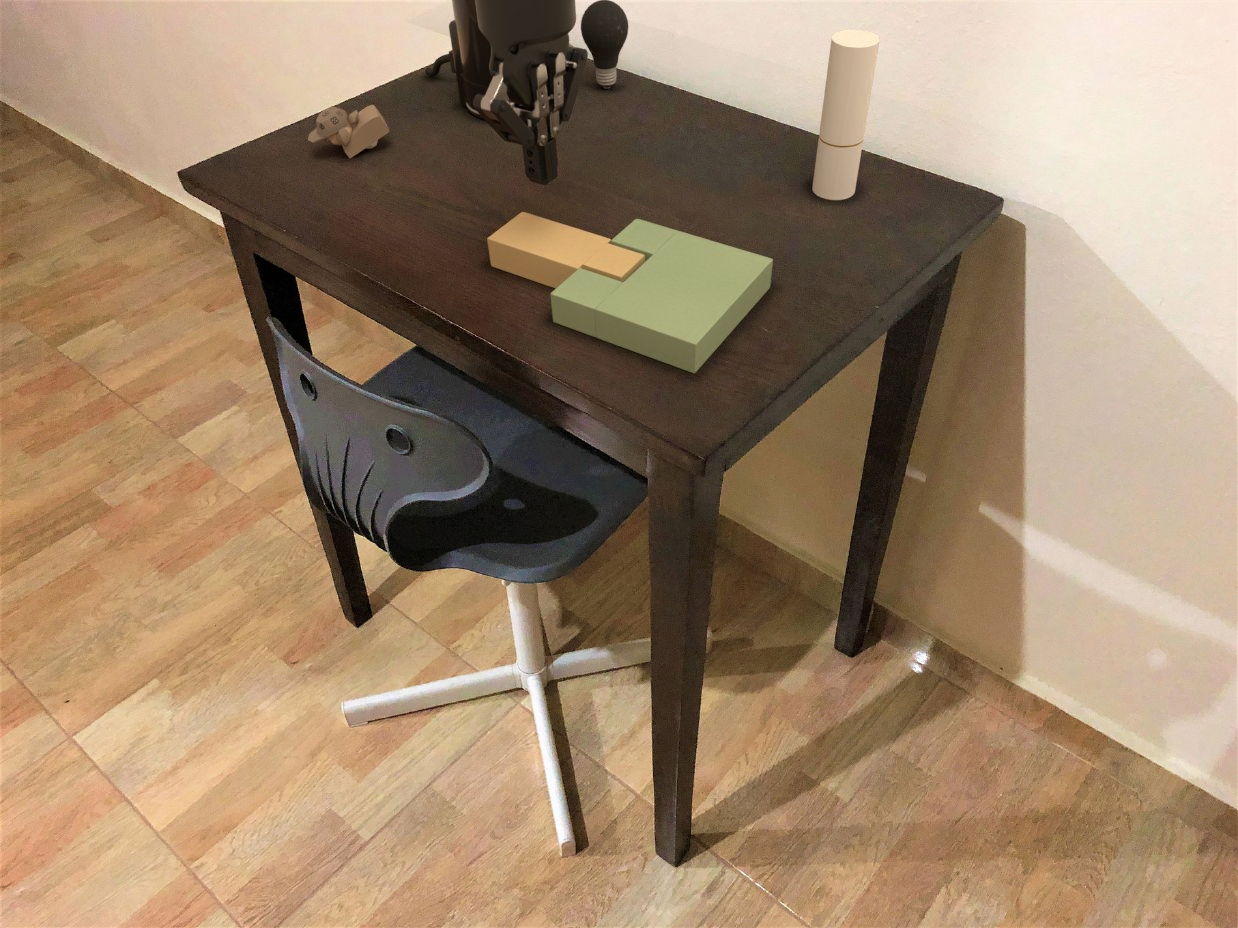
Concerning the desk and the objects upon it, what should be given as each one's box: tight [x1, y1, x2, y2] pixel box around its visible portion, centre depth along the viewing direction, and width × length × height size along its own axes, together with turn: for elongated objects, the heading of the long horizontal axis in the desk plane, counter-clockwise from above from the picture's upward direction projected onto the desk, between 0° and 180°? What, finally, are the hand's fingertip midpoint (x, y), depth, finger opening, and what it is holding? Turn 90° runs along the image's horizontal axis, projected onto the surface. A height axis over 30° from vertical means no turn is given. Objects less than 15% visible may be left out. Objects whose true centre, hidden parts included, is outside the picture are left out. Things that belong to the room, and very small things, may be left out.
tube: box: [812, 29, 881, 201], centre depth 90 cm, size 4×4×15 cm
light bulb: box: [580, 0, 629, 89], centre depth 111 cm, size 6×6×10 cm
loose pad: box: [486, 211, 645, 289], centre depth 85 cm, size 14×6×3 cm, turn 58°
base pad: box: [550, 218, 774, 374], centre depth 81 cm, size 14×14×3 cm
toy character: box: [307, 104, 390, 159], centre depth 103 cm, size 4×8×6 cm, turn 112°
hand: (542, 180), depth 80 cm, fingers closed
